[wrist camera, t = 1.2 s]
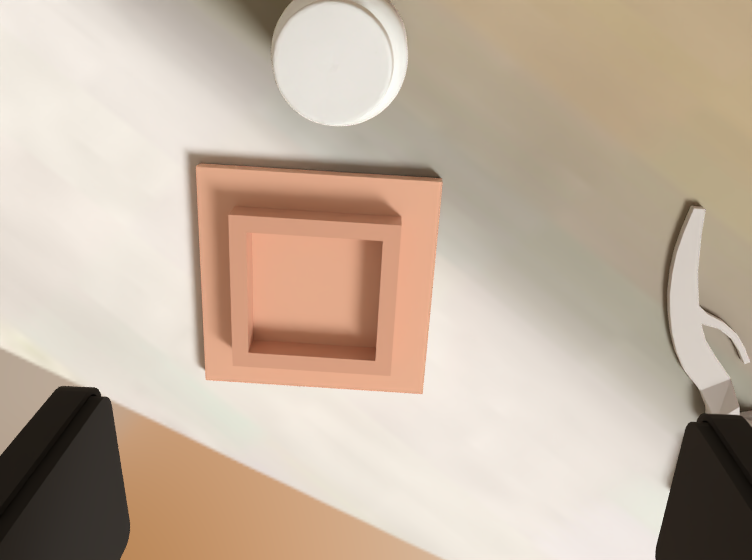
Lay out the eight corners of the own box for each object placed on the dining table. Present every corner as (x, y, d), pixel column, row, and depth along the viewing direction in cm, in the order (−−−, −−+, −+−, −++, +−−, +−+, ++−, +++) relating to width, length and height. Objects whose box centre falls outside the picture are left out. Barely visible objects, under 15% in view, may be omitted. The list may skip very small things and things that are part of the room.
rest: (199, 163, 29) (187, 174, 27) (441, 178, 29) (444, 190, 27) (208, 373, 33) (198, 393, 31) (421, 387, 33) (423, 408, 31)
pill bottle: (281, -6, 26) (237, -3, 19) (397, -28, 26) (396, -33, 19) (305, 111, 28) (273, 154, 21) (414, 92, 27) (420, 130, 20)
